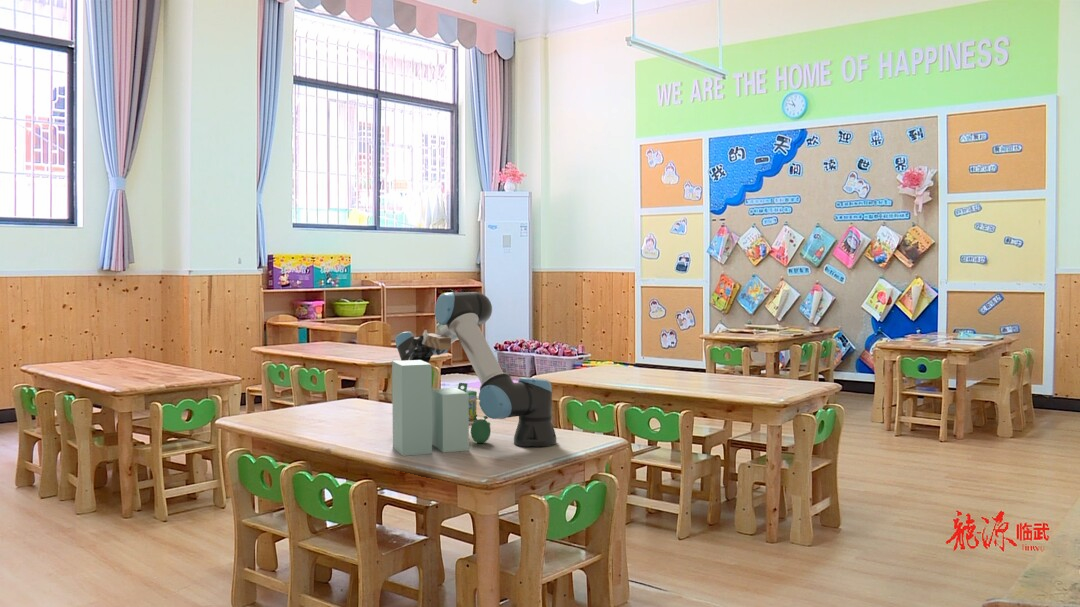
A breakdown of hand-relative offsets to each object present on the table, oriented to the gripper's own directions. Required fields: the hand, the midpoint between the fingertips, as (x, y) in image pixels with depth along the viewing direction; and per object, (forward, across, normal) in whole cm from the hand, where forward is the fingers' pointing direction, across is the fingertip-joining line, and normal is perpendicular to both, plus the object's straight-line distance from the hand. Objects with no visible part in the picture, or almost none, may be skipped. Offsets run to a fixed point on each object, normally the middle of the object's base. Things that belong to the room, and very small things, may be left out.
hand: (432, 332), depth 324 cm
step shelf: (-2, +6, -43) cm, 44 cm away
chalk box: (-48, -21, -17) cm, 55 cm away
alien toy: (-5, -13, -42) cm, 44 cm away
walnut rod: (+2, 0, -6) cm, 7 cm away
